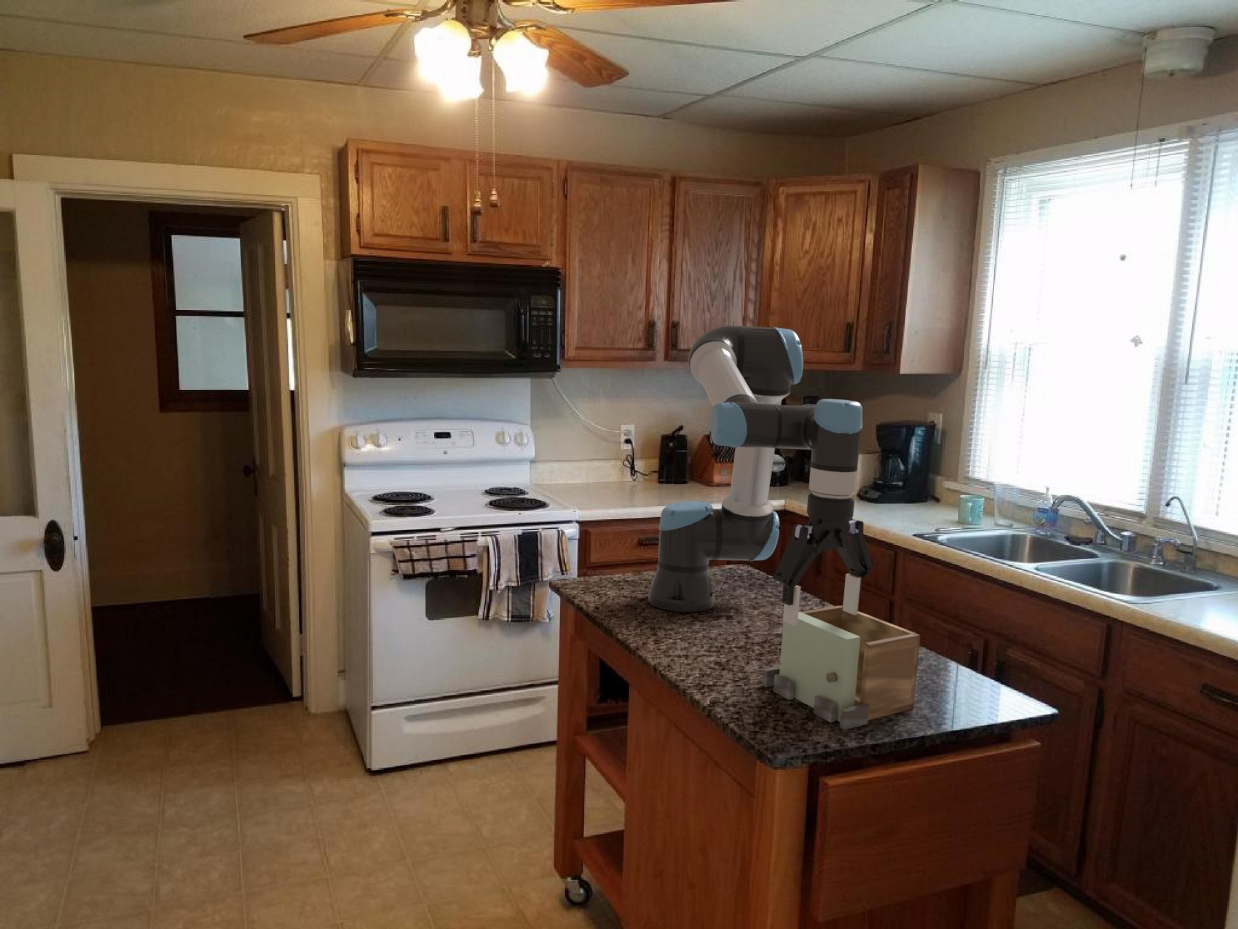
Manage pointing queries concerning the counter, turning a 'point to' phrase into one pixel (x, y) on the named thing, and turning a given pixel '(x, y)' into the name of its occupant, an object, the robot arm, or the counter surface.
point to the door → (820, 661)
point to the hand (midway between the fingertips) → (820, 617)
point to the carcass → (866, 669)
